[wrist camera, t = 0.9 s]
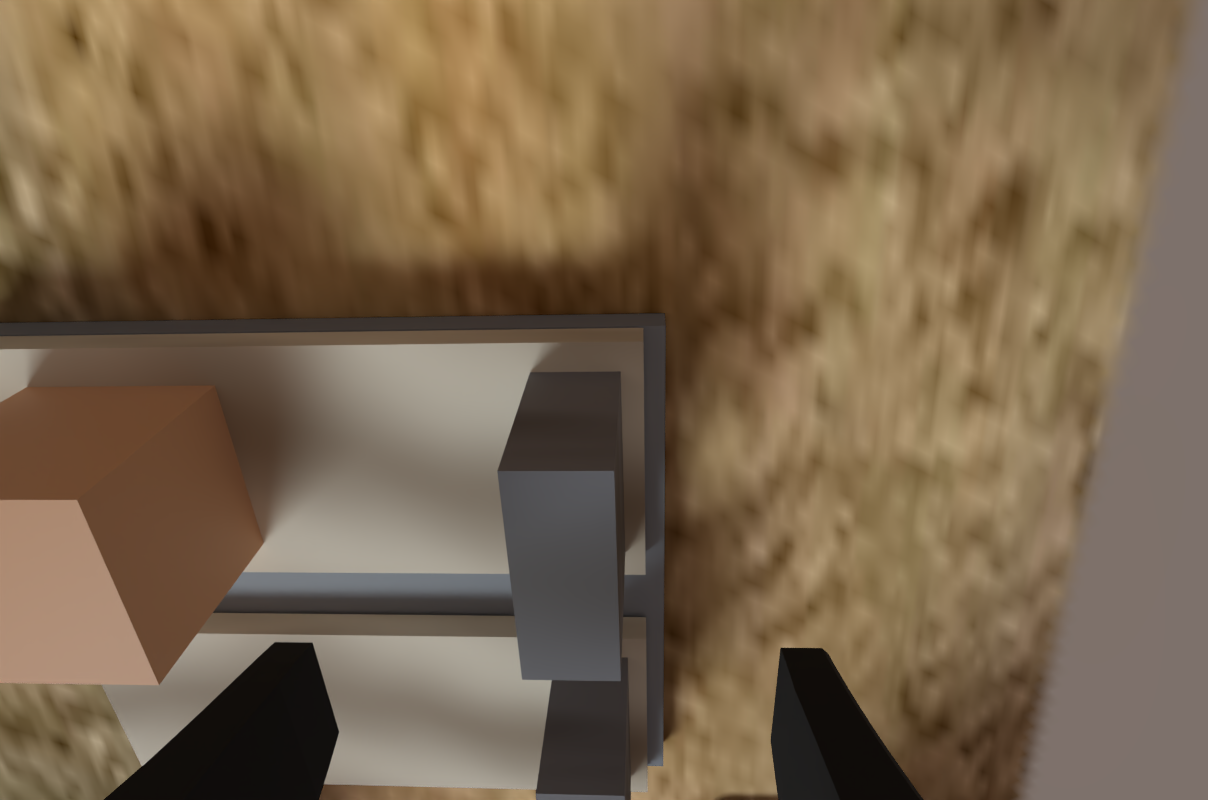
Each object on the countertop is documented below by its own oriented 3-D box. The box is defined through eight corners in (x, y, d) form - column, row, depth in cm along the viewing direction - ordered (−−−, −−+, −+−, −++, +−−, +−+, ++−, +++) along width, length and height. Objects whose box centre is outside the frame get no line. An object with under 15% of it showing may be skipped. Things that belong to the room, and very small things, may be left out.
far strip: (647, 768, 23) (648, 937, 19) (163, 757, 24) (59, 916, 20) (646, 616, 20) (646, 775, 16) (95, 611, 21) (-45, 759, 17)
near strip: (645, 554, 19) (645, 706, 15) (66, 551, 20) (-90, 693, 16) (643, 327, 16) (643, 435, 12) (-34, 337, 17) (-260, 438, 13)
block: (263, 543, 18) (159, 684, 14) (95, 542, 19) (-53, 681, 15) (214, 385, 16) (77, 500, 12) (26, 387, 17) (-168, 500, 13)
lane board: (662, 744, 24) (662, 766, 23) (164, 733, 25) (150, 754, 24) (665, 313, 17) (665, 325, 16) (-23, 323, 18) (-51, 335, 17)
